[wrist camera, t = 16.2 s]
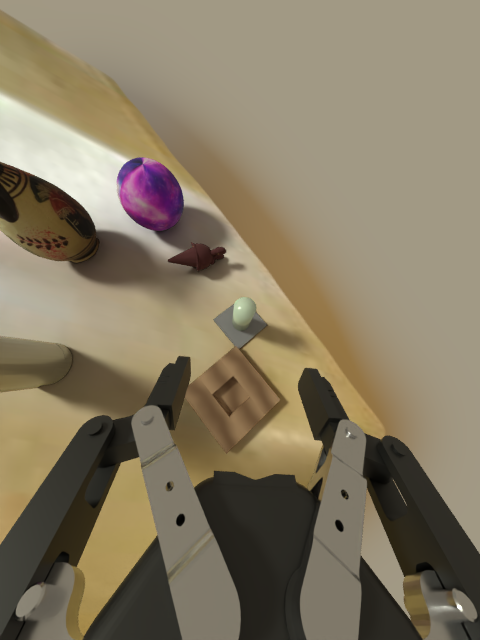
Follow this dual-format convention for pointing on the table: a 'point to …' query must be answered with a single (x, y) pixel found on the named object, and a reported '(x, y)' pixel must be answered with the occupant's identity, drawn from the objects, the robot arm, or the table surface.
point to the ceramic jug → (44, 218)
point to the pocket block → (231, 398)
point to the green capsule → (243, 313)
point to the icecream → (198, 256)
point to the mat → (234, 335)
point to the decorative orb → (150, 194)
